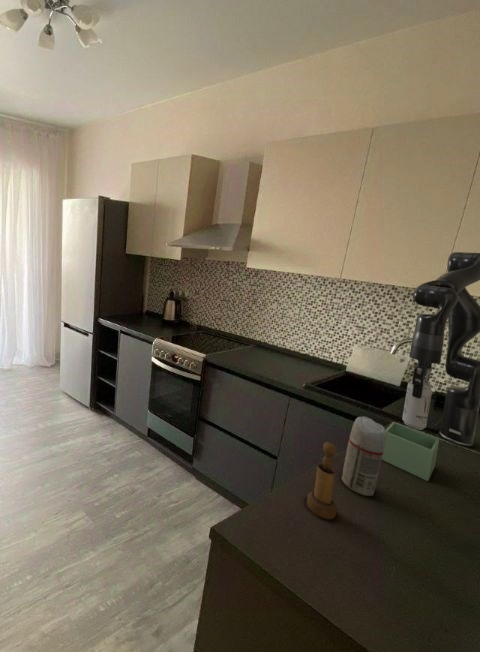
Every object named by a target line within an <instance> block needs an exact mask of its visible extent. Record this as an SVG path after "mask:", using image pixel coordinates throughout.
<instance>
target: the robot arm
mask: <svg viewBox="0 0 480 652" xmlns="http://www.w3.org/2000/svg"><path fill="white" fill-rule="evenodd" d="M446 270H447V271H446V272H445V273H443V274H440V276H439V277H437V278H436V279H435V280H431V281H426V282H423V283H421V284H419V285H418V286H417V287H415V289H414V290H413V292H412V300H413V302H415V304H417V305H419V306H422V307H427V308H432V309H433V308H434V309H438V310H437V311H436V312H434V313H418V315H417V317H416V319H415V327H414V331H413V334H412V338H411V344H410V350H409V357H410V358H412V359H414V360H416V361H417V362H416V363H415V364H414V366H413V373H412V379H413V381H412V384H413V385H414V386H413V392H412V396H413V397H416V398H419V399H420V398H421V397H422V391H423V387H424V382H427V383H429V381H430V379H431V373H432V370H433V365H434V364H435V365H438V364H441V360H442V356H443V350H444V349H443V348H444V343H445V342H444V337H445V336H444V335H445V330H446V325H447V328H448V330H447V331H448V334H447V335H448V336H447V349H446V355H445V367H444V368H445V372H446V375H448V376H449V377H451V378H454V379H457V380H461V381H464V382H467V383H468V384H467V386H459V385H458V386H457V385H450V386H448V387H447V388H446V394H445V399H444V404H443V405H444V406H443V411H442V417H441V423H440V428H439V432H438V435H439V436H440V437H441V438H443V439H444V440H446V441H448V442H451V443H453V444H455V445H458V446H463V447H468V448H472V447H473V446H474V439H475V433H476V429H477V423H478V417H479V413H480V412H479V411H480V360H479V359H475V358H472V357H469V356H468V357H467V356H464V355H462V351H463V348H464V347H465V346H466V344H467V343H469V342H470V341H471V340H473V338H475V337H476V336H478V334H479V333H480V304H479V303H478V302H477V301H476V300H475V298H474V297H473V295H471V293H470V292H469V291H468V289H467V288H466V287H468V286H470V285H472V284H475V283H477V282H479V281H480V252H466V251H464V252H462V251H453V252H451V253H450V254H449V255H448V257H447V264H446ZM416 380H421V383H420V382H417V381H416Z"/></svg>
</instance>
